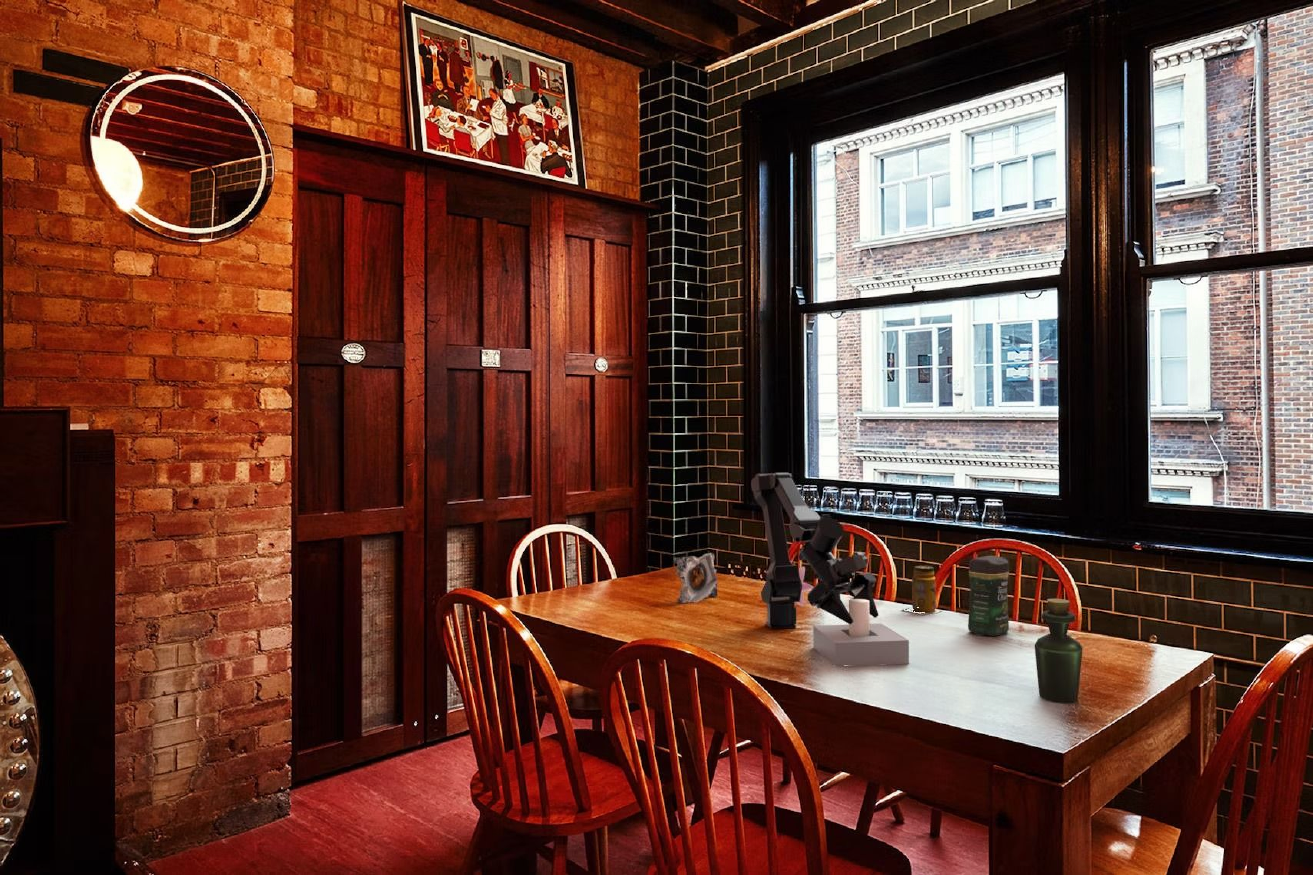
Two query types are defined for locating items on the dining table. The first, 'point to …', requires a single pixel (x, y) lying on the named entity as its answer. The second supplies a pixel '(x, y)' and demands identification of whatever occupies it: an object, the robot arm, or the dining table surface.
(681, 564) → the ornate square frame
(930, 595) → the condiment
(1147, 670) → the dining table surface
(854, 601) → the pink cylinder peg
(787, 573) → the robot arm
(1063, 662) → the potion bottle
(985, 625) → the coffee jar
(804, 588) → the lily
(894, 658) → the well block
